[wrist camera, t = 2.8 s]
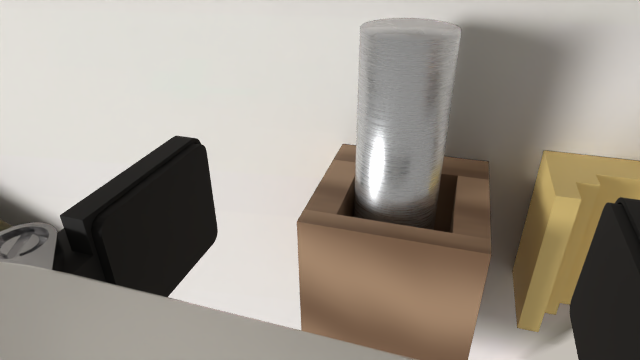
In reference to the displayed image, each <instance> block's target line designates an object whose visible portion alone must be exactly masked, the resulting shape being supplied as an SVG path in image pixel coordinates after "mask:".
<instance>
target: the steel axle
mask: <svg viewBox="0 0 640 360" xmlns="http://www.w3.org/2000/svg"><path fill="white" fill-rule="evenodd" d="M460 37H461V28H460V27H458V26H457V25H454V24H451V23H448V22H443V21H438V20H431V19H419V18H391V19H380V20H374V21H370V22H367V23H364V24H362V25H361V26H360V46H359V77H358V107H357V138H356V168H355V199H354V217H356V218H362V219H368V220H374V221H380V222H387V223H393V224H399V225H405V226H411V227H418V228H424V229H430V230H434V223H435V216H436V209H437V201H438V194H439V187H440V180H441V173H442V166H443V159H444V151H445V144H446V137H447V130H448V123H449V116H450V109H451V102H452V94H453V87H454V80H455V73H456V66H457V59H458V52H459V44H460Z"/></svg>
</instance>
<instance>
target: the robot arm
mask: <svg viewBox="0 0 640 360" xmlns="http://www.w3.org/2000/svg"><path fill="white" fill-rule="evenodd" d="M60 218H61V220H62V223H63V226H64V229H62V230H61V231H60V232H58V233H57V230H56V228H55V227H54V226H52V225H50V224H47V223H38V222H34V223H26V224H21V225H17V226H13V227H10V228H8V229H6V230H3V231H1V232H0V360H417V359H413V358H409V357H405V356H401V355H397V354H393V353H389V352H385V351H381V350H377V349H373V348H369V347H365V346H361V345H357V344H353V343H349V342H345V341H341V340H337V339H333V338H329V337H325V336H321V335H317V334H313V333H309V332H305V331H301V330H297V329H293V328H289V327H285V326H281V325H277V324H273V323H269V322H265V321H261V320H257V319H253V318H249V317H245V316H241V315H237V314H233V313H229V312H225V311H221V310H217V309H213V308H209V307H205V306H200V305H196V304H192V303H188V302H184V301H180V300H176V299H172V298H168V296H169V295H170V294H171V292H172V291H173V290H174V289H175V288H176V287H177V285H178V284H179V283H180V282H181V281H182V280H183V278H184V277H185V276H186V275H187V274H188V273H189V271H190V270H191V269H192V268H193V267H194V265H195V264H196V263H197V262H198V261H199V260H200V258H201V257H202V256H203V255H204V254H205V253H206V251H207V250H208V249H209V248H210V247H211V246H212V244H213V243H214V242H215V240H216V237H217V232H218V231H217V222H216V215H215V208H214V201H213V194H212V187H211V180H210V173H209V166H208V159H207V152H206V148H205V146H204V145H201V143H200V141H199V140H198V139H196V138H189V137H182V136H175V137H173V138H171V139H170V140H168V141H167V142H165V143H164V144H163V145H161V146H160V147H158V148H157V149H155V150H154V151H152V152H151V153H150V154H148V155H147V156H145V157H144V158H142V159H141V160H139V161H138V162H136V163H135V164H134V165H132V166H131V167H129V168H128V169H126V170H125V171H123V172H122V173H121V174H119V175H118V176H116V177H115V178H113V179H112V180H110V181H109V182H108V183H106V184H105V185H103V186H102V187H100V188H99V189H97V190H96V191H95V192H93V193H92V194H90V195H89V196H87V197H86V198H84V199H83V200H82V201H80V202H79V203H77V204H76V205H74V206H73V207H71V208H70V209H69V210H67V211H66V212H64V213H63V214H61V215H60ZM570 318H571V323H572V328H573V333H574V338H575V344H576V349H577V354H578V359H579V360H640V200H637V199H630V198H623V197H620V198H618V199H617V201H616V202H615V203H609V202H608V203H606V204H605V206H604V208H603V211H602V214H601V216H600V219H599V222H598V225H597V228H596V231H595V233H594V236H593V239H592V242H591V245H590V248H589V250H588V253H587V256H586V259H585V262H584V265H583V267H582V270H581V273H580V276H579V279H578V282H577V284H576V287H575V290H574V293H573V296H572V299H571V303H570Z"/></svg>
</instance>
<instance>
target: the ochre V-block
mask: <svg viewBox="0 0 640 360" xmlns="http://www.w3.org/2000/svg"><path fill="white" fill-rule="evenodd" d="M620 197H623V198H630V199H637V200H640V161H634V160H625V159H616V158H607V157H598V156H589V155H580V154H571V153H562V152H553V151H544V152H543V155H542V159H541V163H540V167H539V171H538V175H537V179H536V182H535V186H534V190H533V194H532V198H531V202H530V205H529V209H528V213H527V217H526V221H525V225H524V228H523V232H522V236H521V240H520V244H519V248H518V251H517V255H516V259H515V263H514V267H513V271H512V273H513V284H514V296H515V307H516V319H517V328H520V329H525V330H530V331H535V332H538V331H539V328H540V325H541V322H542V319H543V316H544V313H549V314H554V315H556V313H557V310H558V307H559V304H560V303H563V304H569V305H570V303H571V299H572V296H573V293H574V290H575V287H576V284H577V282H578V279H579V276H580V273H581V270H582V267H583V265H584V262H585V259H586V256H587V253H588V250H589V248H590V245H591V242H592V239H593V236H594V233H595V231H596V228H597V225H598V222H599V219H600V216H601V214H602V211H603V208H604V206H605V204H606V203H608V202H609V203H615V202H616V201H617V199H618V198H620Z"/></svg>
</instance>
